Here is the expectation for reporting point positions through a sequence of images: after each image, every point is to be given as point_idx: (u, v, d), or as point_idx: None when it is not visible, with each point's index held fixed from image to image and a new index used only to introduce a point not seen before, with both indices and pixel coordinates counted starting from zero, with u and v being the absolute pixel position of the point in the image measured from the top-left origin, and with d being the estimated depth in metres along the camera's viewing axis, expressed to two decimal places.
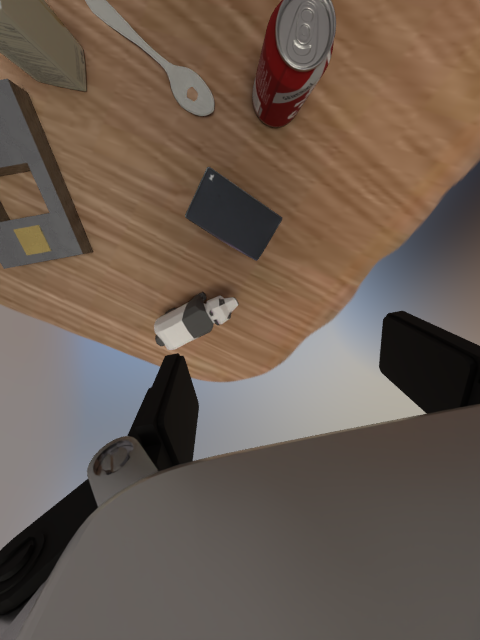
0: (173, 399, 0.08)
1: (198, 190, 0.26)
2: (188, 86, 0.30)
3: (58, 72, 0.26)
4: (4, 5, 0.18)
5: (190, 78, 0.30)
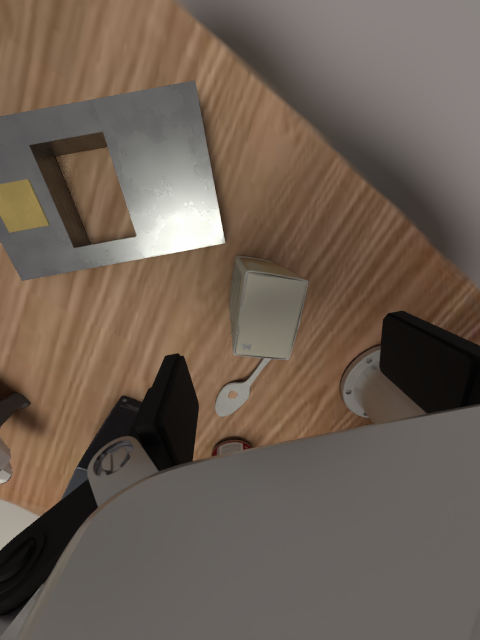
0: (173, 399, 0.08)
1: None
2: (237, 392, 0.32)
3: None
4: None
5: (242, 394, 0.32)
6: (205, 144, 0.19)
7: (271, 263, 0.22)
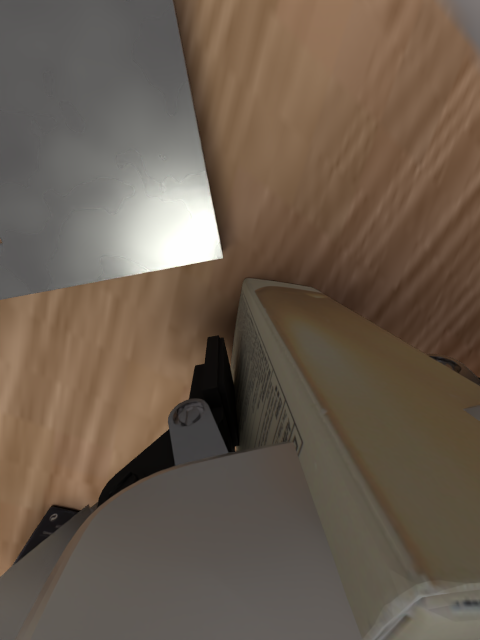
0: (225, 371, 0.08)
1: None
2: None
3: (235, 388, 0.11)
4: None
5: None
6: None
7: (330, 304, 0.09)
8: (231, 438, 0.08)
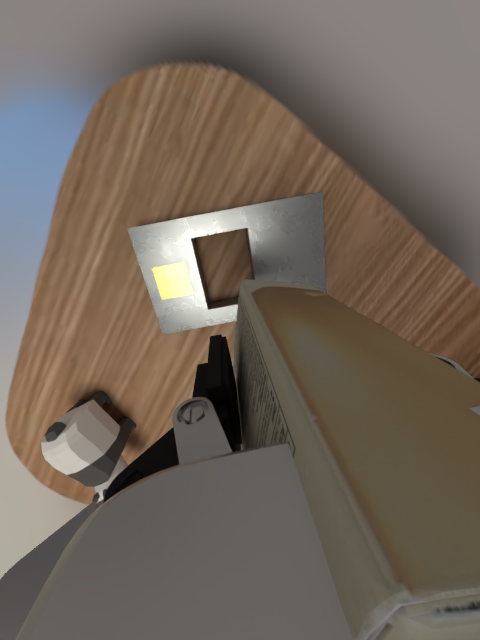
0: (228, 370, 0.09)
1: None
2: None
3: (237, 390, 0.11)
4: None
5: None
6: (323, 234, 0.24)
7: (327, 302, 0.09)
8: (234, 437, 0.08)
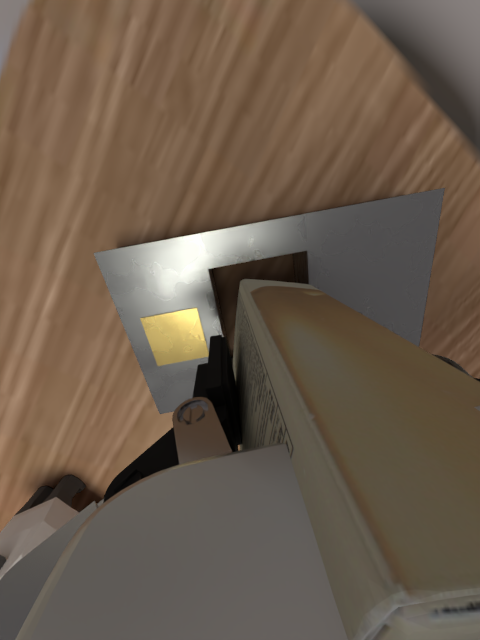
0: (228, 370, 0.09)
1: None
2: None
3: (237, 390, 0.11)
4: None
5: None
6: (431, 260, 0.14)
7: (327, 302, 0.09)
8: (234, 436, 0.08)
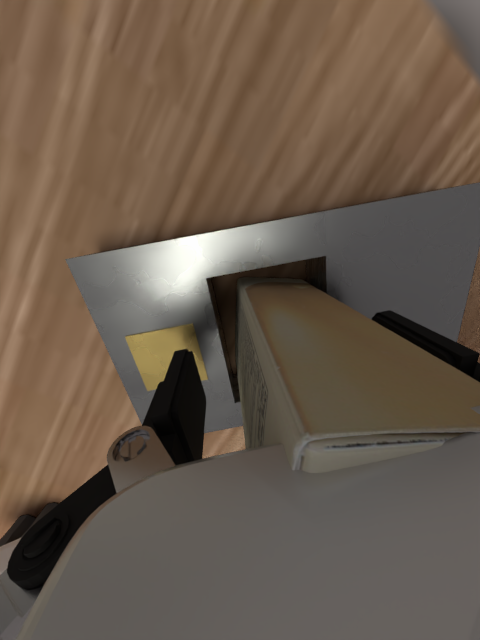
0: (185, 392, 0.08)
1: None
2: None
3: (239, 375, 0.13)
4: None
5: None
6: (472, 267, 0.12)
7: (312, 293, 0.11)
8: None
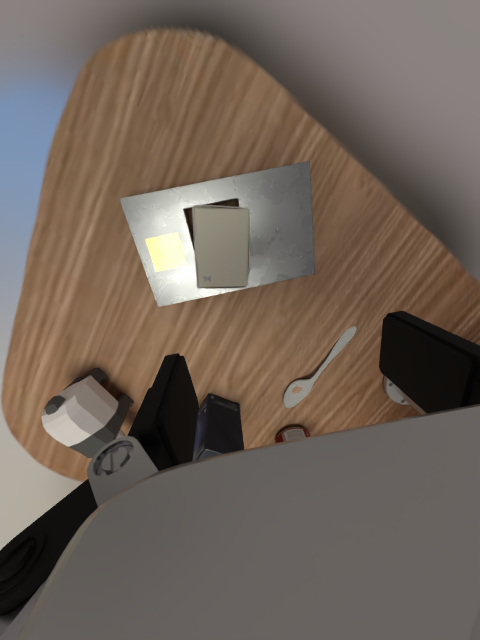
0: (173, 399, 0.08)
1: None
2: (301, 387, 0.39)
3: None
4: None
5: (305, 389, 0.39)
6: (310, 204, 0.25)
7: None
8: None
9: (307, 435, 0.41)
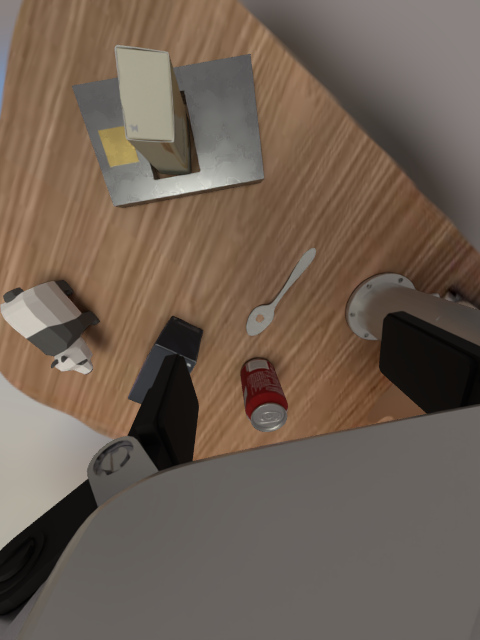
0: (173, 399, 0.08)
1: None
2: (264, 316, 0.40)
3: None
4: (133, 141, 0.20)
5: (268, 317, 0.40)
6: (254, 101, 0.26)
7: None
8: None
9: (270, 365, 0.42)
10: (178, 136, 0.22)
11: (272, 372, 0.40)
